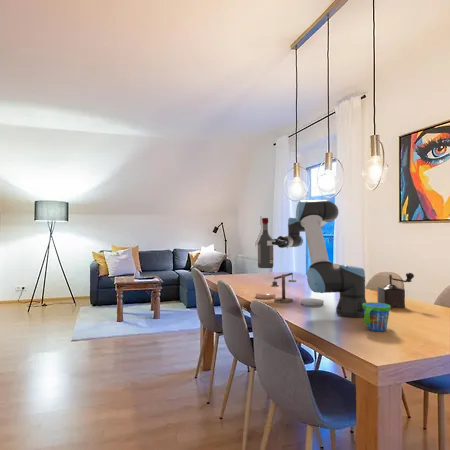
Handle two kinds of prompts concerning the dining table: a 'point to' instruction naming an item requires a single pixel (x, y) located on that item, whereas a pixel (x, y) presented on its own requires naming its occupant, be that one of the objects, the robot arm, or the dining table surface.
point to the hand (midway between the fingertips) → (260, 242)
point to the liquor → (265, 248)
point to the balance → (283, 288)
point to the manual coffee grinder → (393, 293)
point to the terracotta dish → (265, 295)
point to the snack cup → (376, 315)
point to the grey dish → (312, 302)
